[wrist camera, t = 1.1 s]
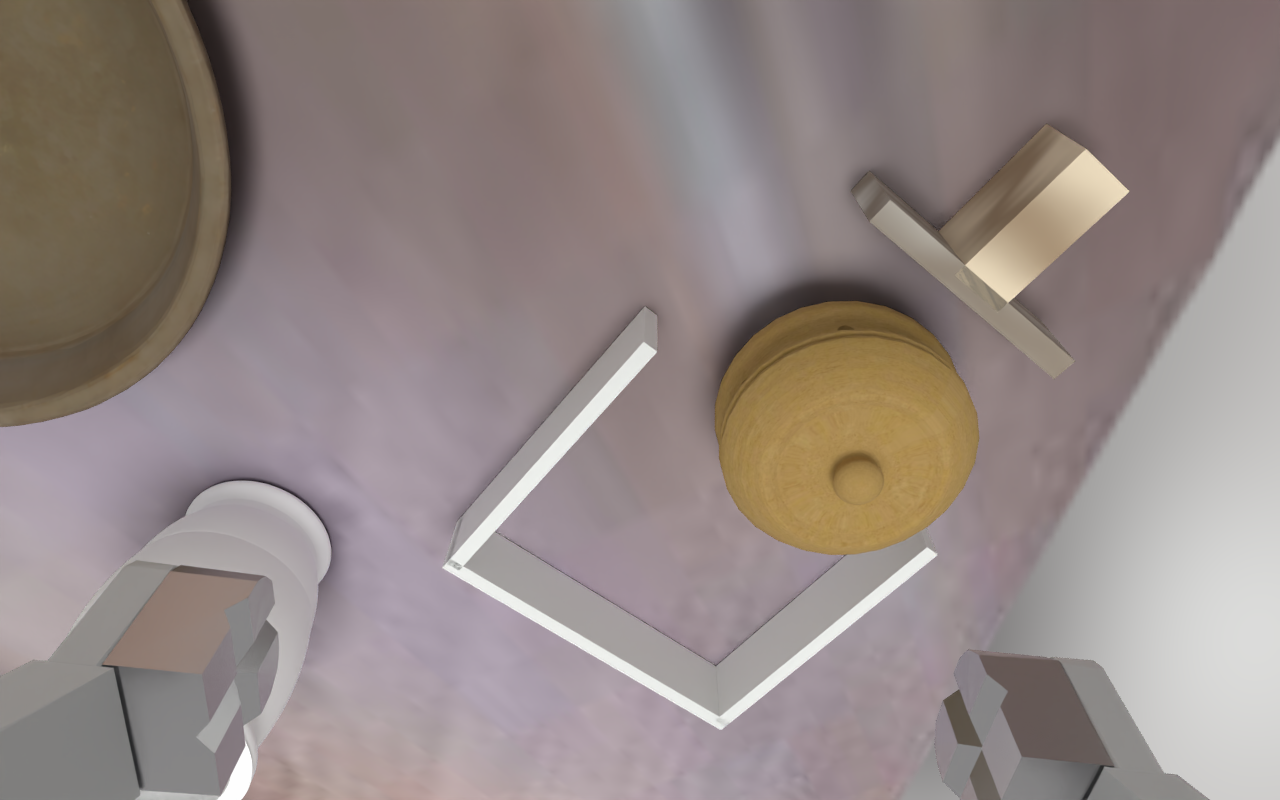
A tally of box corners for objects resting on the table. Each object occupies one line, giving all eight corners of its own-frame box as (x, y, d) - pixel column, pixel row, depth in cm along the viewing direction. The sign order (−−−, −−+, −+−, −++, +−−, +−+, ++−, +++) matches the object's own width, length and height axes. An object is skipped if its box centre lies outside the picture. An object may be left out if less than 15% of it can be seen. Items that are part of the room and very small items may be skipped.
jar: (374, 596, 55) (286, 818, 42) (213, 615, 56) (78, 838, 43) (314, 449, 50) (193, 651, 37) (138, 474, 51) (-41, 678, 38)
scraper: (976, 55, 39) (1010, 74, 36) (1149, 223, 43) (1196, 257, 39) (850, 190, 42) (869, 221, 39) (1021, 337, 46) (1054, 379, 42)
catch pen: (645, 306, 45) (643, 341, 42) (918, 508, 51) (937, 554, 48) (456, 522, 52) (442, 567, 49) (717, 679, 58) (720, 730, 55)
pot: (667, 350, 47) (668, 458, 38) (875, 227, 43) (929, 315, 35) (781, 506, 51) (806, 635, 43) (977, 407, 48) (1048, 524, 39)
